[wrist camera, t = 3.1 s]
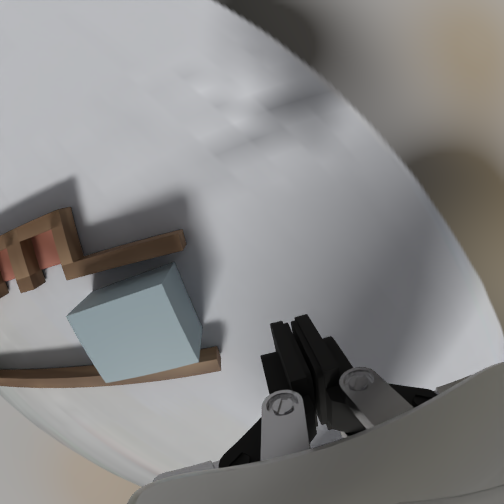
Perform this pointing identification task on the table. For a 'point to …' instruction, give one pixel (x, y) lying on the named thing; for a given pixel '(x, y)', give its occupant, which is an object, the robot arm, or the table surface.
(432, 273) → the table surface
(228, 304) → the table surface
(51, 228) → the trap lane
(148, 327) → the slate block
